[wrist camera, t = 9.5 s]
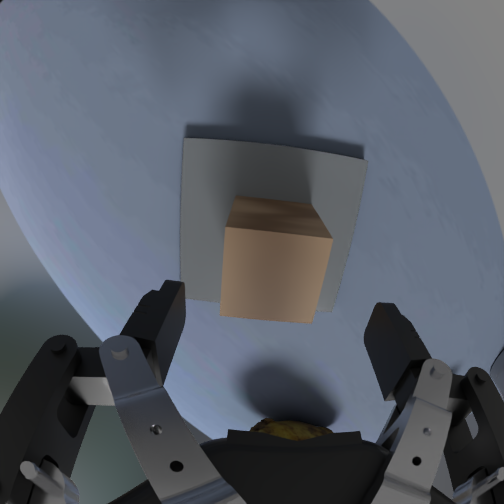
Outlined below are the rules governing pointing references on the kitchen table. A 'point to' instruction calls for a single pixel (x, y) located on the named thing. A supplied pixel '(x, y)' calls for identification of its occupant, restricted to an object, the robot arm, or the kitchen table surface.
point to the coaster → (261, 186)
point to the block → (273, 260)
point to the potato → (290, 429)
